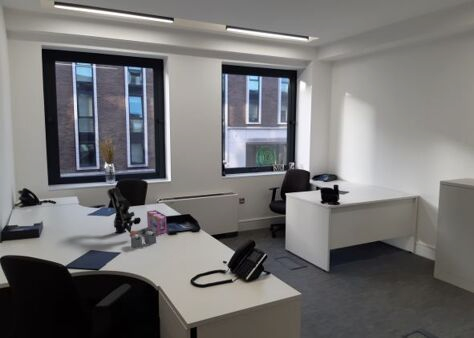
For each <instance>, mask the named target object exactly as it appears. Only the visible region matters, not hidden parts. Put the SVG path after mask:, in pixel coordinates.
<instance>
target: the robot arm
mask: <svg viewBox="0 0 474 338" xmlns="http://www.w3.org/2000/svg"><path fill="white" fill-rule="evenodd" d="M106 194H107V196H108V198H109V199H110V200H111V201H112V206H113V209H114V212H115V217H114V220H113V227H114V229H115V232H114V234H121V235H122V234H124V233H126V232H127V231H128V233H129V234H130V232H131V231H132V226H133V225H139V224H140V223H141V220H142V219H141V217H135V212H134V211H131V212H129V210H130V207H131V202H130V200H128V199H126V198H125V197H123V195H122V194H121V191H120V188H119V187H112V188H109V189H108V190H107V192H106ZM133 217H134V218H133ZM132 218H133V219H132Z"/></svg>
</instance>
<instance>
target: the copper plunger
mask: <svg viewBox="0 0 474 338" xmlns="http://www.w3.org/2000/svg"><path fill="white" fill-rule="evenodd" d="M132 235H133V236H134V237H135V238H136V239H139V236H138V232H137V231H135V230H131V232H130V233H129V237H130V238H131V236H132Z"/></svg>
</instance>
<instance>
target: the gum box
mask: <svg viewBox="0 0 474 338" xmlns="http://www.w3.org/2000/svg"><path fill="white" fill-rule="evenodd" d="M146 216H147V217H146V219H147V229H148V230H149V229H150V230H151V231H152V232H155V233H156V235H160V234H166V233H168V232H167V215H165V214H163V213H161V212H159V211H158V210H156V209H155V210H154V209H153V210H148V211H146Z"/></svg>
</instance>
